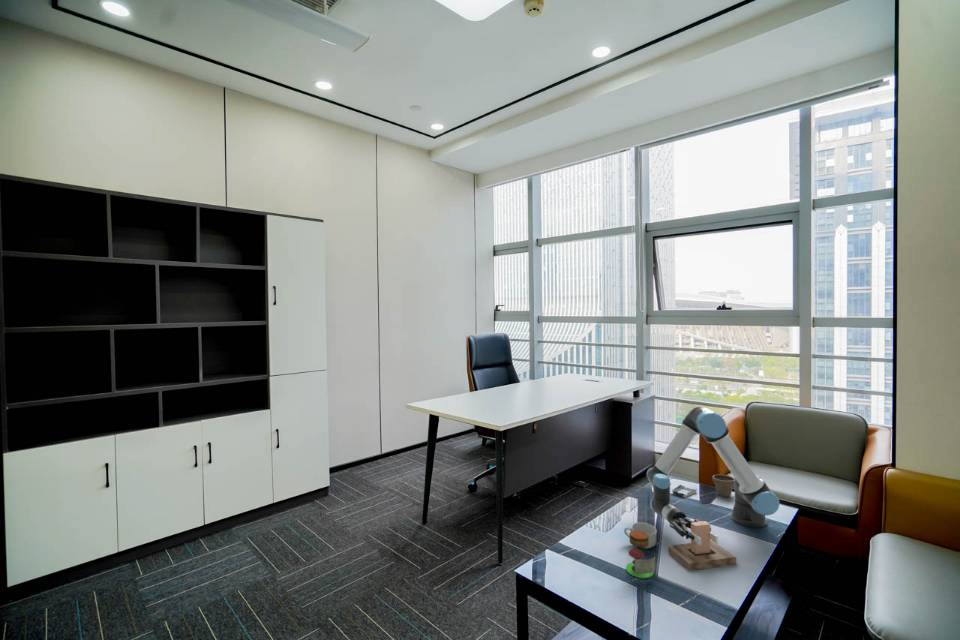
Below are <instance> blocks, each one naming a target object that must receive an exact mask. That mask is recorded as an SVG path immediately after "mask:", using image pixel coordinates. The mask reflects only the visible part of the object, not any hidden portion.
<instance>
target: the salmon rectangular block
mask: <svg viewBox="0 0 960 640" xmlns="http://www.w3.org/2000/svg"><path fill="white" fill-rule="evenodd" d="M710 527H711V523H709V522H707V521H706V520H702V521H700V522H692V523H691V529H690V531H691V532H693V533H694V534H696V535H697V536H698V537H700V538H701V545H699V544H698V543H696V542H695V541H693V540H692V539H690V543H691V551H692V552H694V553H695V554H697V555H702V554H701V553H705V554H708V553H709V552H710V540H711V539H710Z"/></svg>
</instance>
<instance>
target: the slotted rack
mask: <svg viewBox="0 0 960 640" xmlns="http://www.w3.org/2000/svg"><path fill="white" fill-rule="evenodd" d="M668 552H669V553H670V554H669V555H670V556H671V557H673V558H674V559H675V560H676V561H677V560H678V561H677V562H678V563H680V564H681V565H682V566H683V567H684V568H686V569H687V570H688V571H689V572H690V571H698V570H704V569H705V570H706V569H711V568H718V567H724V566H725V567H726V566H732V565H737V564H738V563H737V556H736V555H735V554H733V553H732V552H730V551H729V550H727V549H726V548H724V547H723V546H722V545H720V544H719V543H715V542H714V541H712V540H711V539H710V552H709V553H707V554H706V553H701V554H700V555H698V554H695V553H694V552H692V551H691V542H687V543H681V544H679V543H678V544H674V545H668ZM696 555H697V556H696Z"/></svg>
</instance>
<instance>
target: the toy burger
mask: <svg viewBox="0 0 960 640" xmlns="http://www.w3.org/2000/svg"><path fill="white" fill-rule="evenodd" d="M628 534H629V536H630V538H629V543H630V544H631V545H632V546H633V547H632V548H631V549H629V551H628V555H629V557H631V558H632V559H633V560H632V561H631V562H629V563H627V565H626V566H625V569H626V572H627V573H628V574H629V575H630V576H632V577H634V576H635V578H637V577H638V578H637V579H650V578H651V577H653V576H654V572H655V571H656V554H655V553H654V557H652V558H649V559H643V558H644V557H645V554H644V552H643V551H642V550H641V549H640V548H641V547H647V546H648V545H649V539H648V534H647V533H645V532H643V531H638V530H635V531H630V532H629V533H628Z"/></svg>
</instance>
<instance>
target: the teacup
mask: <svg viewBox="0 0 960 640" xmlns="http://www.w3.org/2000/svg"><path fill="white" fill-rule="evenodd" d="M627 530H628V531H630V532H631V531H635V530H638V531H643V532H645V533H647V534H648V539H649V545H648V546H647V547H640V548H641V549H647V550H648V549H651V548H653V547H655V545H656V544H657V532H658V530H657V528H656V527H655V526H654V525H652V524H650V523H647V522H635V523H633V524H631V526H626V527H624V529H623V532H624V534H625V536H626V537H628V538H629V539H630V536H629V534H630V533H628V532H627Z"/></svg>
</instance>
